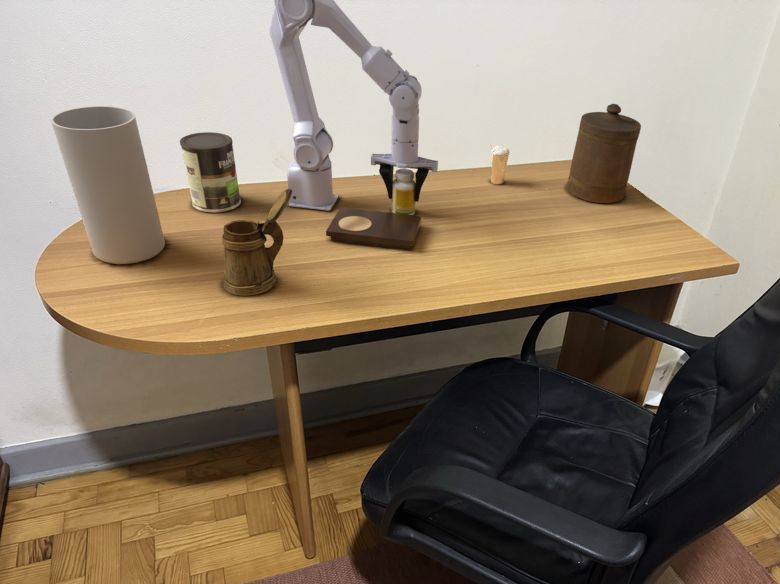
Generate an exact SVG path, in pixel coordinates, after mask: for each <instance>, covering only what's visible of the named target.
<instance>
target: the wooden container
mask: <svg viewBox="0 0 780 584" xmlns="http://www.w3.org/2000/svg"><path fill="white" fill-rule="evenodd" d="M621 112H622V108H621V106H620V105H619V104H618V103H610V104H609V105H607V106H606V111H593V112H592V111H591V112H585V113H583V114H582V115H581V119H580V123H579V127H578V133H577V137H576V142H575V146H574V150H573V153H572V159H571V163H570V167H569V175H568V180H567V185H566V188H567V192H569V193H570V194H571V195H573V196H574V197H576V198H578V199H581V200H583V201H586V202H591V203H594V204H595V203H598V204H613V203H618V202H620V201H622V200H623V199H624V197H625V194H626V189H627V186H628V182H629V178H630V175H631V170H632V165H633V161H634V156H635V151H636V147H637V143H638V140H639V137H640V133H641V129H642V125H641V123H640V122H639V121H638V120H637V119H635V118H632V117H630V116H627V115H623V114H620V113H621Z"/></svg>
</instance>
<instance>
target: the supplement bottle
mask: <svg viewBox="0 0 780 584" xmlns="http://www.w3.org/2000/svg"><path fill="white" fill-rule="evenodd" d="M394 176H395V179H393V183H392V199H391V213H399V214H408V215H415V213H416V203H417V202H415V191H416V180H414V179H415V173H414V171H413V170H412V169H410V168H398V169H396V170H395V175H394Z"/></svg>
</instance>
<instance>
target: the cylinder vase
mask: <svg viewBox="0 0 780 584" xmlns="http://www.w3.org/2000/svg"><path fill="white" fill-rule="evenodd" d="M50 122H51V126H52V128H53V131H54V135H55V138H56V141H57V144H58V148H59V150H60V154H61V158H62V160H63V162H64V166H65V170H66V173H67V175H68V179H69V182H70V185H71V188H72V192H73V194H74V197H75V201H76V205H77V207H78V210H79V213H80V216H81V219H82V223H83V226H84V229H85V232H86V236H87V238H88V242H89V245H90V248H91V252H92V254H93V255H94V256H95V258H97V259H98V260H100V261H102V262H104V263H107V264H113V265H114V264H115V265H129V264H136V263H140V262H145V261H147V260H149V259H152V258H154V257H156V256H157V255H159V254H160V253H161V252H162V251H163V250H164V248H165V244H166V242H165V235H164V233H163V228H162V224H161V219H160V216H159V211H158V207H157V203H156V199H155V195H154V190H153V186H152V181H151V177H150V172H149V169H148V165H147V159H146V156H145V152H144V147H143V143H142V139H141V135H140V131H139V127H138V123H137V119H136V115H135V113H134V112H133V111H132V110H129V109H126V108H123V107H118V106H109V105H93V106H80V107H75V108H74V107H73V108H70V109H65V110H63V111H59V112H58V113H56V114H54V115H53V116H52V117H51V118H50Z"/></svg>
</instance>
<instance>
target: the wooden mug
mask: <svg viewBox="0 0 780 584" xmlns="http://www.w3.org/2000/svg"><path fill="white" fill-rule="evenodd" d="M292 192H293V191H292V190H291V189H288V188H287V189H285V190H282V192H280V194H279V195H278V197H277V198H276V200H275V201H274V202H273V205H272V206H271V208H270V210H269V213H268V215H267V218H266V220H261V221H257V222H255V221H253V220H249V219H238V220H233V221H230V222H227V223H226V224H225V225H224V226H223V233H222V235H221V244H222V246H223V252H224V253H223V254H224V255H223V256H224V274H223V288H224V290H226V292H228V293H229V294H232V295H235V296H242V297H247V296H248V297H249V296H256V295H259V294H262V293H266V292H267V291H269V290H271V289H272V288H273V286H274V285H275V284H276V281H277V275H276V273H275V270H274V262H275V260H276V258H277V256H278V254H279V252H280V250H281V248H282V246H283V244H284V233H283V229H282V227H281V226H280V225H279V223H278V222H277V220H278V219H279V218H280V216H281V215H282V214H283V212H284V211H285V209H286V207H287V205H289V203H290V201H289V200H290V198H291V195H292ZM266 235H267V236H270V237H271V238H272V240H273V243H272V244H271V245H270V246H268V247H267V246H266V245H265V243H266V242H267V241H268V239H267V236H266Z"/></svg>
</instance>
